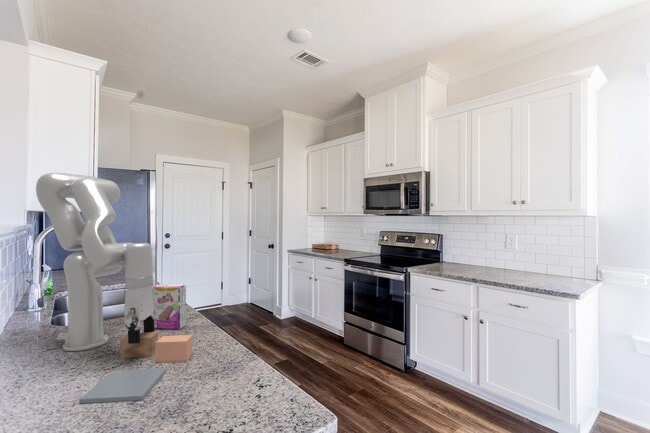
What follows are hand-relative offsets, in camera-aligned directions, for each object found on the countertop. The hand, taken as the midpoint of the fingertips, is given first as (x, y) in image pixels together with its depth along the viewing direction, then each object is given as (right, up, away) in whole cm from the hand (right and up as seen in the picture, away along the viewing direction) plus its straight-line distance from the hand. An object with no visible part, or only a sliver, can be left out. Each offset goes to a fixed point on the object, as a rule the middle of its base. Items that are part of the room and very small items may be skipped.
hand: (142, 337), depth 103 cm
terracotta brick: (+11, -5, -3) cm, 13 cm away
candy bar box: (-3, -6, +24) cm, 25 cm away
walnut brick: (-1, -6, 0) cm, 6 cm away
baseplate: (+7, -5, -19) cm, 21 cm away
